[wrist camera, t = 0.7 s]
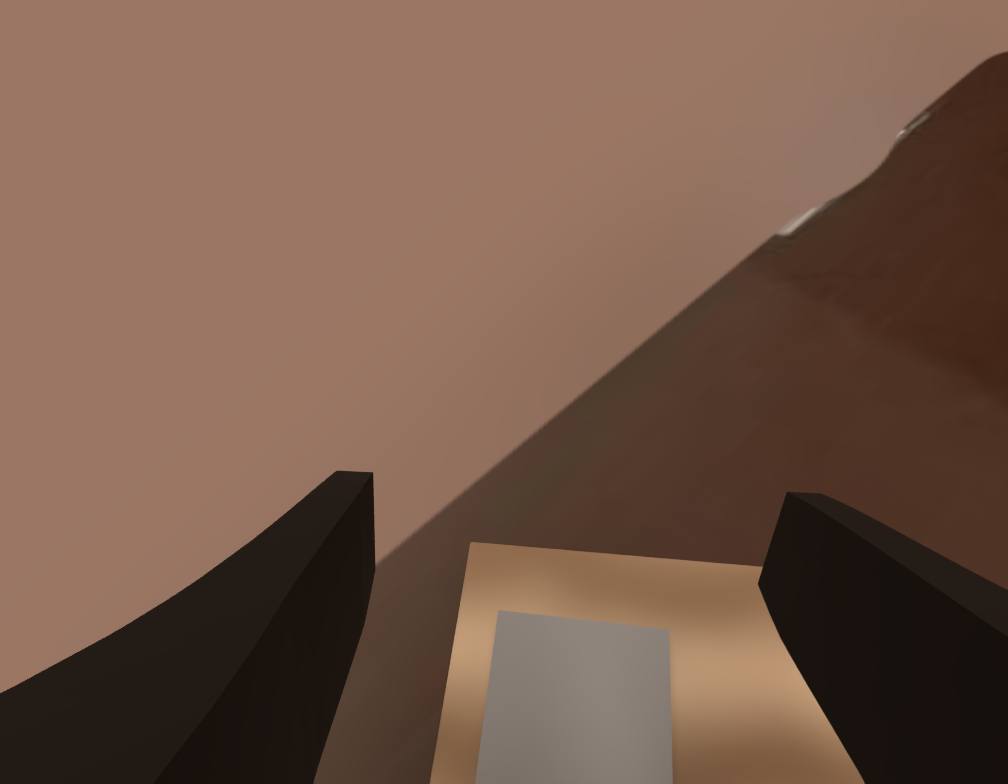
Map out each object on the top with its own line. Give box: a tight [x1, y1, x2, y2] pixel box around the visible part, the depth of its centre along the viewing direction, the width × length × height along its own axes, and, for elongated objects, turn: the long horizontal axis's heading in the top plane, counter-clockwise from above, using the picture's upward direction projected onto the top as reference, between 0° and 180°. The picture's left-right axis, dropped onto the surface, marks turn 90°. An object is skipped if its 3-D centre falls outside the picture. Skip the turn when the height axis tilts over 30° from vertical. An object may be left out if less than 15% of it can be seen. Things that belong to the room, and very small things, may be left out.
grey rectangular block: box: [475, 610, 673, 784], centre depth 18 cm, size 9×6×2 cm, turn 172°
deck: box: [430, 542, 865, 784], centre depth 20 cm, size 15×14×4 cm
